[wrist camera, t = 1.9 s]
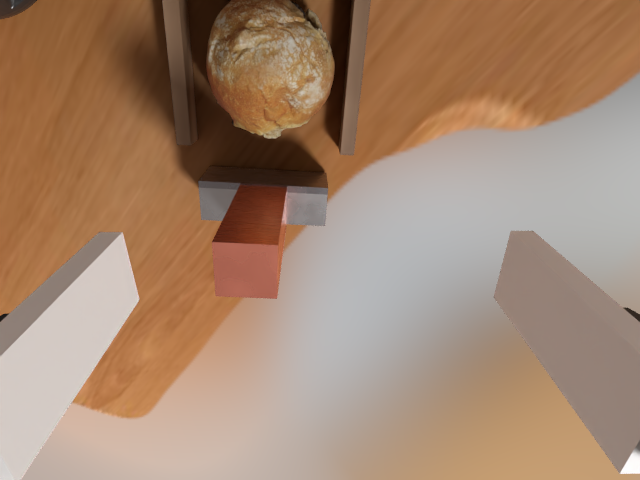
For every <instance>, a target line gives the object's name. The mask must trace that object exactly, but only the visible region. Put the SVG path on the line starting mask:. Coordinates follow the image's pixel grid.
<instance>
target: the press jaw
mask: <svg viewBox="0 0 640 480" xmlns="http://www.w3.org/2000/svg"><path fill="white" fill-rule="evenodd" d="M198 183H199V195H200V208H201V220H217V221H222V223H221V225H220V227H219V229H218V231H217V233H216V235H215V237H214V239H213V241H212V249H213V264H214V278H215V293H216V296H225V297H250V298H251V297H252V298H275V299H276V298H277V295H278V287H279V279H280V272H281V264H282V256H283V248H284V240H285V233H286V224H296V225H315V226H325V219H326V207H327V194H328V184H327V176H326V173H324V172H307V171H290V170H273V169H256V168H238V167H221V166H210V167H209V168H208V169H207V171H206V172H205V173H204V174H203V176H202V177H201V178H200V179H199V181H198Z"/></svg>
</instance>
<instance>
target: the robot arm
mask: <svg viewBox="0 0 640 480" xmlns="http://www.w3.org/2000/svg"><path fill="white" fill-rule="evenodd" d="M36 1H37V0H0V19H4V18H9V17H12V16H14V15H17V14H19V13H21V12H23V11H24V10H26V9H28V8H29V7H30V6H32V5H33V4H34V3H35V2H36ZM494 298H495V300H496V301H497V303H498V304H499V305H500V307H501V308H502V309H503V311H504V312H505V314H506V315H507V317H508V318H509V319H510V321H511V322H512V324H513V325H514V326H515V328H516V329H517V331H518V332H519V333H520V335H521V336H522V338H523V339H524V340H525V342H526V343H527V345H528V346H529V347H530V349H531V350H532V352H533V353H534V354H535V356H536V357H537V358H538V360H539V361H540V363H541V364H542V365H543V367H544V368H545V370H546V371H547V373H548V374H549V375H550V377H551V378H552V380H553V381H554V382H555V383H556V385H557V386H558V388H559V389H560V391H561V392H562V394H563V395H564V396H565V398H566V399H567V400H568V402H569V403H570V405H571V406H572V408H573V409H574V410H575V412H576V413H577V415H578V416H579V417H580V419H581V420H582V422H583V423H584V424H585V426H586V427H587V428H588V430H589V431H590V433H591V434H592V435H593V436H594V438H595V440H596V441H597V443H598V444H599V445H600V447H601V448H602V449H603V451H604V452H605V454H606V455H607V457H608V458H609V459H610V461H611V462H612V464H613V465H614V466H615V468H616V469H617V470H618V472H619V473H620V474H625V473H626V474H627V473H640V314H638V313H636V312H634V311H632V310H631V309H629V308H623V307H621V306H620V305H619V304H618V303H617V302H615V301H614V300H613V299H612V298H611V297H610V296H609V295H607V294H606V293H605V292H604V291H602V290H601V289H600V288H599V287H598V286H597V285H596V284H594V283H593V282H592V281H591V280H590V279H589V278H587V277H586V276H585V275H584V274H583V273H582V272H580V271H579V270H578V269H577V268H576V267H575V266H573V265H572V264H571V263H570V262H569V261H568V260H566V259H565V258H564V257H563V256H562V255H560V254H559V253H558V252H557V251H556V250H555V249H554V248H552V247H551V246H550V245H549V244H548V243H546V242H545V241H544V240H543V239H542V238H541V237H539V236H538V235H537V234H536V233H535V232H534V231H511V232H510V236H509V240H508V244H507V248H506V252H505V256H504V259H503V263H502V267H501V271H500V275H499V279H498V283H497V287H496V290H495V294H494ZM138 301H139V296H138V292H137V288H136V284H135V280H134V276H133V272H132V268H131V264H130V260H129V256H128V252H127V248H126V244H125V240H124V236H123V232H99V233H98V234H97V235H96V236H95V237H93V238H92V239H91V240H90V241H89V242H88V243H87V244H86V245H85V246H84V247H82V248H81V249H80V250H79V251H78V252H77V253H76V254H75V255H74V256H73V257H71V258H70V259H69V260H68V261H67V262H66V263H65V264H64V265H63V266H62V267H60V268H59V269H58V270H57V271H56V272H55V273H54V274H53V275H52V276H50V277H49V278H48V279H47V280H46V281H45V282H44V283H43V284H42V285H41V286H39V287H38V288H37V289H36V290H35V291H34V292H33V293H32V294H31V295H30V296H28V297H27V298H26V299H25V300H24V301H23V302H22V303H21V304H20V305H18V306H17V307H16V308H15V309H14V310H13V311H12V312H11V313H10V314H3V315H1V316H0V480H21V479H22V477H23V475H24V474H25V472H26V471H27V469H28V468H29V466H30V465H31V463H32V462H33V460H34V459H35V457H36V456H37V454H38V453H39V451H40V450H41V448H42V447H43V445H44V444H45V442H46V441H47V439H48V438H49V436H50V434H51V433H52V432H53V430H54V428H55V427H56V426H57V424H58V422H59V421H60V419H61V418H62V416H63V415H64V413H65V412H66V410H67V409H68V407H69V406H70V404H71V403H72V401H73V400H74V398H75V397H76V395H77V394H78V392H79V391H80V389H81V388H82V386H83V385H84V383H85V382H86V380H87V379H88V377H89V376H90V374H91V372H92V371H93V369H94V368H95V366H96V365H97V363H98V362H99V360H100V359H101V357H102V356H103V354H104V353H105V351H106V350H107V348H108V347H109V345H110V344H111V342H112V341H113V339H114V338H115V336H116V335H117V333H118V332H119V330H120V329H121V327H122V326H123V324H124V322H125V321H126V319H127V318H128V316H129V315H130V313H131V312H132V310H133V309H134V307H135V306H136V304H137V303H138Z"/></svg>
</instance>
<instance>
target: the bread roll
mask: <svg viewBox="0 0 640 480" xmlns="http://www.w3.org/2000/svg"><path fill="white" fill-rule="evenodd" d="M207 48H208V51H207V58H206V69H207V77H208V80H209V83H210V86H211V89H212V92H213V95H214V97H215V98H216V100H217V104H219V105H220V106H222V108H223V109H224V110H225V111H226V112H228V113H229V114H230V115H231V118H232V124H233V125H234V126H235V127H239V128H242V129H245V130H247V131H249V132H251V133H252V134H254V133H257V134H258V135H263V137H265V138H269V139H270V138H274V139H275V138H277V137H279V136H281V131H282V130H284V129H285V128H295V127H300V126H302V125H303V124H306V123H307V122H308V121H309V120H310V118H311V117H312V115H314V114H315V113H317V112H318V111H319V110H320V109H321V107H322V106H323V104H324V103H325V102H326V100H327V98H328V96H329V94H330V91H331V86H332V83H333V78H334V69H335V64H334V59H333V55H332V50H331V46H330V44H329V41H328V40H327V37H326V32H323V30H322V25H321V23H320V22H319V19H318V17H317V16H316V14H315V13H314V12H312V11H311V10H309V9H308V10H307V11H306V13H305V12H304V11H303V10H302V8H301V7H300V6H299V5H298V4H296V3H294V2H291V1H290V0H231V1H230V2H229V3H228V4H227V5H226V6H225V7H224V8H223V9H222V10H221V11H220V12H219V14H218V15H217V17H216V19H215V22H214V24H213V26H212V29H211V33H210V37H209V41H208V47H207Z"/></svg>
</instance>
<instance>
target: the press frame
mask: <svg viewBox="0 0 640 480" xmlns="http://www.w3.org/2000/svg"><path fill="white" fill-rule="evenodd" d="M370 1H371V0H352V3H351V14H350V25H349V36H348V48H347V59H346V70H345V81H344V92H343V104H342V115H341V126H340V137H339V151H340V155H354V149H355V140H356V131H357V121H358V112H359V103H360V94H361V85H362V75H363V66H364V57H365V48H366V38H367V29H368V20H369V11H370ZM162 3H163V13H164V23H165V32H166V42H167V52H168V62H169V72H170V81H171V91H172V101H173V111H174V121H175V130H176V140H177V145H192V144H193V143H194V142H196V141H197V140H198V131H197V117H196V104H195V91H194V78H193V65H192V52H191V39H190V26H189V13H188V0H162Z"/></svg>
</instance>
